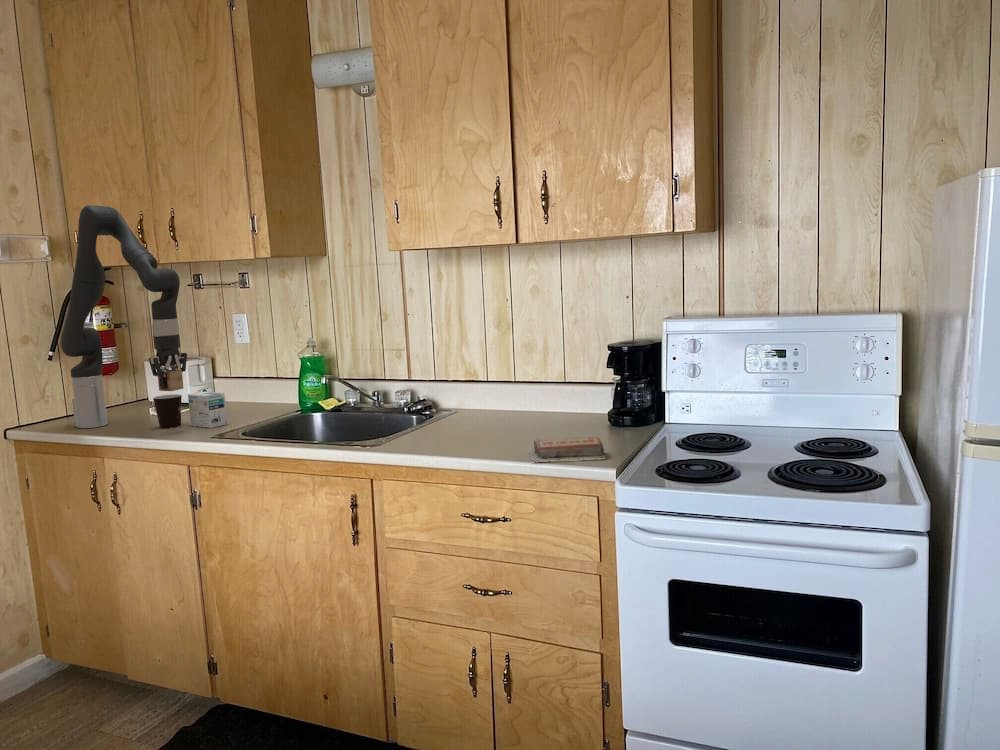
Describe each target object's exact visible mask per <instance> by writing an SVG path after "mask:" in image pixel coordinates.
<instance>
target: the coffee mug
mask: <svg viewBox="0 0 1000 750" xmlns="http://www.w3.org/2000/svg"><path fill="white" fill-rule="evenodd" d="M152 399H153V402H154V407H155V411H156V416H157V420H158V425H159V428H160V429H171V428H170V427H174V428H178V427H177V426H179V427H181V426H182V401H183V399H182V394H178V393H177V394H164V395H157V396H154V397H153V398H152ZM180 425H181V426H180Z"/></svg>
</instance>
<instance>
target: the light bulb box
mask: <svg viewBox="0 0 1000 750" xmlns="http://www.w3.org/2000/svg"><path fill="white" fill-rule="evenodd" d="M225 397H226V396H225V392H216V391H214V392H213V391H200V392H195V393H194V392H193V393H188V394H187V400H188V401H187V402H188V409H189V417H190V418H189V420H190V426H191V427H197V426H198V428H199V427H200V428H206V427H207V428H210V429H212V428H216V427H220V426H222V427H223V426H225V425H228V417H227V408H226V399H225Z"/></svg>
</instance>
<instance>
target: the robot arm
mask: <svg viewBox="0 0 1000 750" xmlns="http://www.w3.org/2000/svg"><path fill="white" fill-rule="evenodd" d="M77 227H78V229H77V231H78V232H77V249H76V250H77V251H76V258H75V267H74V270H73V277H72V284H71V292H70V299H69V303H68V304H69V305H68V309H67V314H66V318H65V321H64V326H63V329H62V333H61V339H60V346H61V350H62V353H63V354H64V355H65V356H67V357H70V358H78V357H82V359H81V360H80V362H79V363H78V364H76V365H75V366H74V367H72V368H71V369H70V376H71V379H70V380H71V386H72V393H73V394H72V395H73V398H72V400H71V404H72V411H73V412H72V414H73V419H74V421H73V422H74V426H75V428H77V429H90V428H91V429H92V428H98V427H99V428H100V427H104V426H107V425H108V423H109V422H108V414H107V407H106V406H107V405H106V396H105V388H104V380H103V379H104V378H103V367H104V362H103V361H104V359H103V343H102V337H101V335H100V332H99V331H98V330H97V329H96V328H94V327H85V323H86V321H87V318H88V316H89V315H90V314H91V312H92V311H93V310H94V308H96V306H97V305H98V304H99V303H100V301H101V299H102V298H103V294H104V293H105V292H104V290H105V285H106V278H107V276H106V272H105V268H104V267H103V264H102V262H101V261H100V258H99V256H98V253H97V239H98V236H106V237H107V236H111V237H113V238H114V239H115V240H117V241H118V242H119V243H120V250H121V251H120V252H121V255H122V257H123V259H124V260H125V262H126V263H127V264H128V265H129V266H130V267H131V268H132V269H133V270H134V271H135V272H136V274H137V276H138V277H139V280H140V282H141V284H142V286H143V287H144V289H146V290H147V291H149V292H152V293H161V294H160V295H161V296H160V298H158V299H157V300H154V301H152V302H151V303H150V304H151V306H150V307H151V319H152V326H151V328H152V340H153V348H154V349H155V350H156V354H155V356H153V357H148V362H149V366H150V370H151V372H152V375H153V376H154V377H157V378H158V377H159V382H160V388H161V389H168V384H167V377H166V376H167V371H168V370H182V373H184V372H186V371H187V370H186V369H187V359H188V353H187V352H180V348H181V338H180V326H179V322H178V314H177V312H178V311H177V302H178V297H179V292H180V285H181V282H180V277H179V275H178V273H177V272H176V271H175V270H174V269H172V268H158V265H159V263H158V259H156V257H155V256H154V255H153V254H152V253H151V252H150V251H149V250H148V249H147V247H145V246H144V245H143V244H142V242H140V240H139V239H138V238H137V236H136V235H135V234H134V232H133V230H132V229H131V227H130V226H129V225H128V223H127V222H126V220H125V219H124V217H123V216H122V215H121V213H120V212H119V211H118V210H117V209H116V208H114V207H112V206H108V205H107V206H106V205H105V206H104V205H92V204H91V205H90V204H89V205H85V206H84V207H83V208H81V211H80V213H79V217H78V226H77ZM162 371H163V373H162Z"/></svg>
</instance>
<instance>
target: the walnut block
mask: <svg viewBox="0 0 1000 750" xmlns="http://www.w3.org/2000/svg"><path fill="white" fill-rule="evenodd" d="M162 373H163V371H162ZM166 377H167V384H168V389H161V388H160V382H159V377H158V376H157V383H158V391H160V392H175V391H179V390H184V379H183V372H182V370H177V369H176V370H172V369H169V370H168V371H167V376H166Z"/></svg>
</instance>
